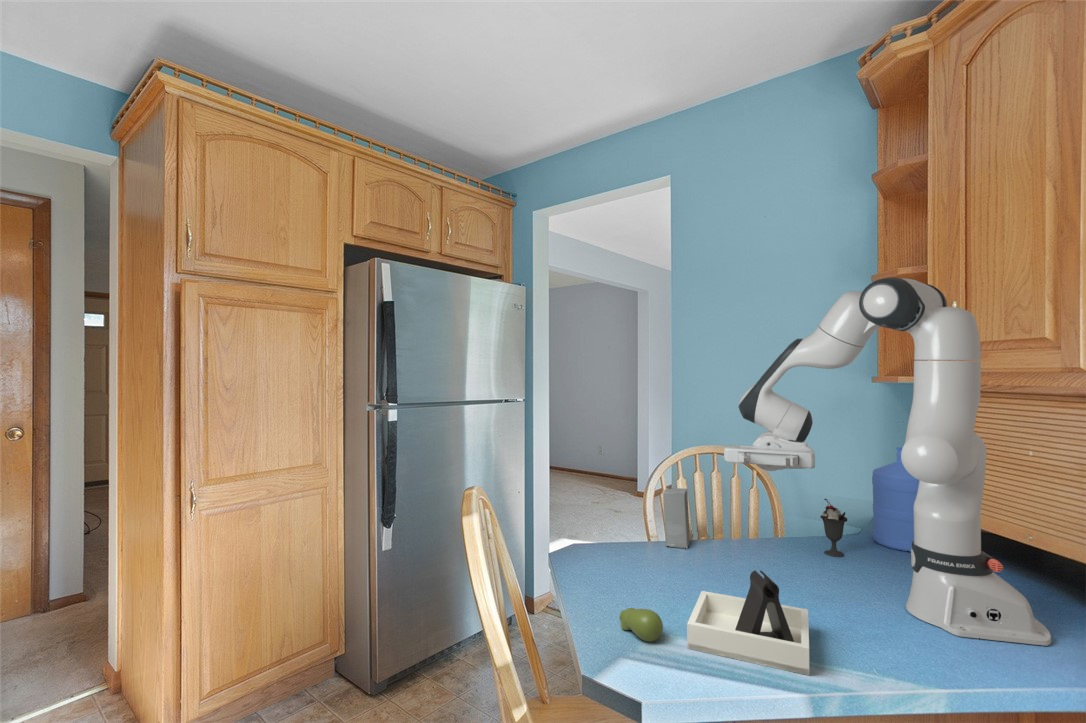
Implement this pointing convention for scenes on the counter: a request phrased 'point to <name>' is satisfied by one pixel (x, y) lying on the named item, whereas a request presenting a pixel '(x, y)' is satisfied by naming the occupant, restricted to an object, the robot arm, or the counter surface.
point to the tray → (747, 634)
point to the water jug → (894, 505)
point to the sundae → (833, 528)
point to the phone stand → (763, 609)
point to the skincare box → (676, 517)
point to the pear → (642, 623)
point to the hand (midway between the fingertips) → (766, 461)
